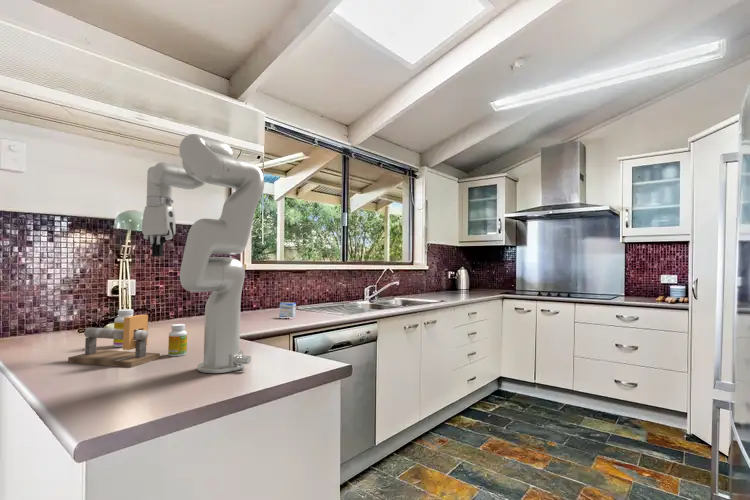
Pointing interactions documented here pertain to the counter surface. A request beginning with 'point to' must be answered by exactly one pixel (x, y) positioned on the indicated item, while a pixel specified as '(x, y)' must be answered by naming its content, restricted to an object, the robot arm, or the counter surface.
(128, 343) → the rubber collar
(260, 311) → the counter surface
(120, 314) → the supplement bottle
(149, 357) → the pipe stand
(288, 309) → the medicine box
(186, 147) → the robot arm
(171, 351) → the supplement bottle
